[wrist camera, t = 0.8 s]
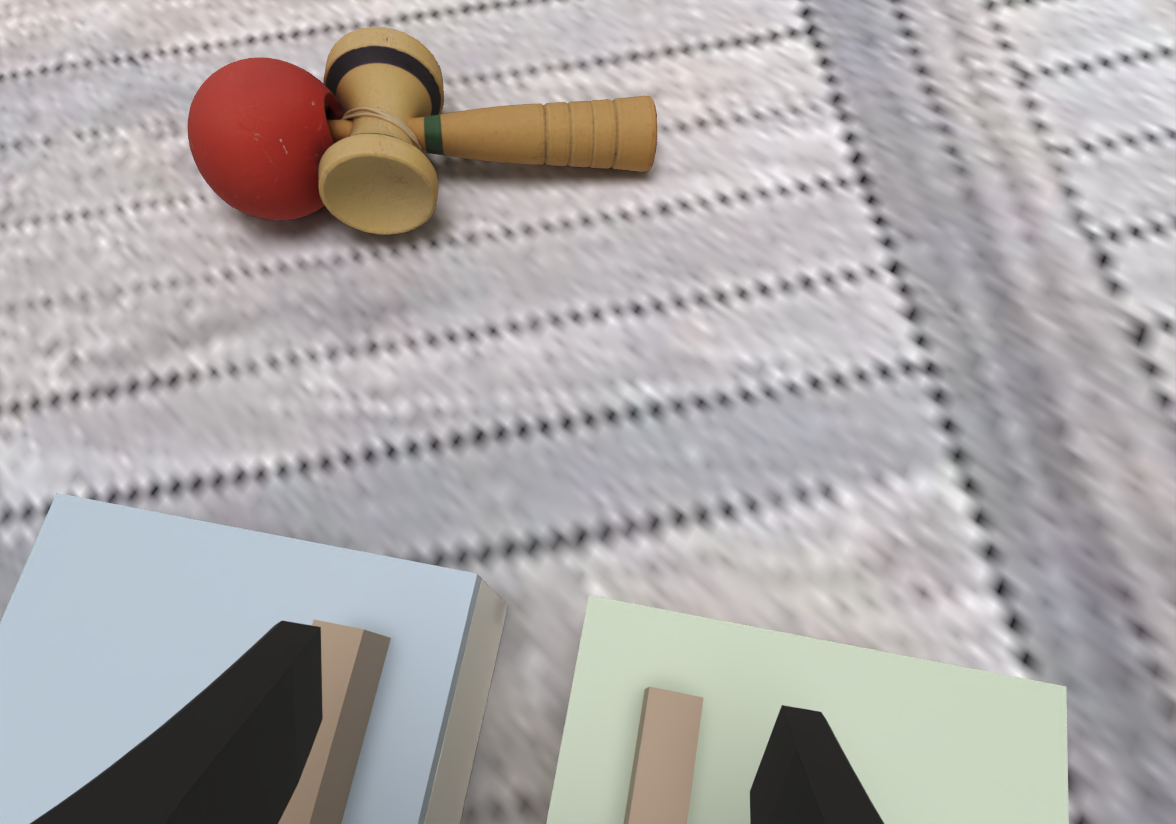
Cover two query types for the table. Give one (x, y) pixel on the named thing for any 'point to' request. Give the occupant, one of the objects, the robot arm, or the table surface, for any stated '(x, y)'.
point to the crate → (467, 709)
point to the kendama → (383, 134)
